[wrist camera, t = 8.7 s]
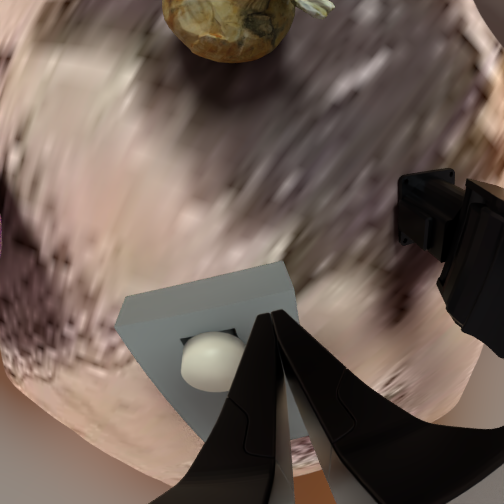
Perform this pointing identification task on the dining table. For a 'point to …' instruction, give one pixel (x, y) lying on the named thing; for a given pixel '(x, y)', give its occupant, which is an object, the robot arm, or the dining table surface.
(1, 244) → the bowl of food
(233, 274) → the mount
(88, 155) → the dining table surface
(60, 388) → the dining table surface
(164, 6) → the onion
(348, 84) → the dining table surface
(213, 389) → the knob
